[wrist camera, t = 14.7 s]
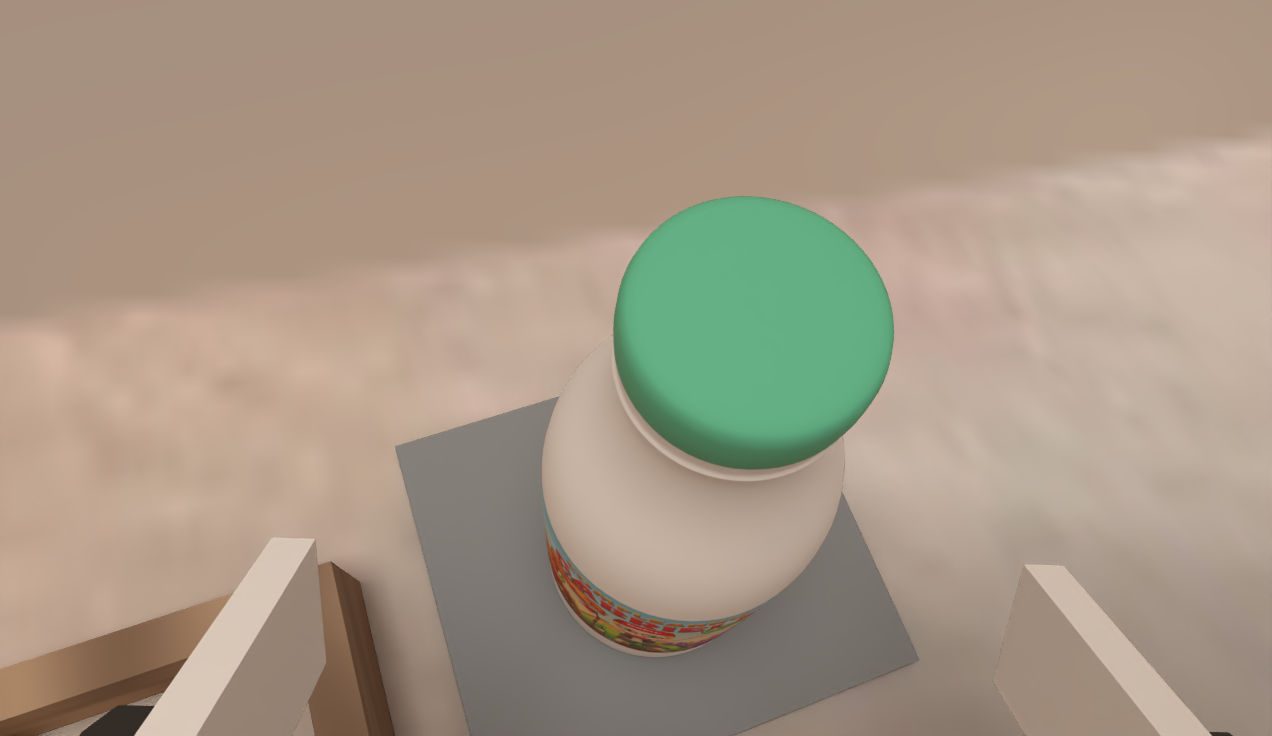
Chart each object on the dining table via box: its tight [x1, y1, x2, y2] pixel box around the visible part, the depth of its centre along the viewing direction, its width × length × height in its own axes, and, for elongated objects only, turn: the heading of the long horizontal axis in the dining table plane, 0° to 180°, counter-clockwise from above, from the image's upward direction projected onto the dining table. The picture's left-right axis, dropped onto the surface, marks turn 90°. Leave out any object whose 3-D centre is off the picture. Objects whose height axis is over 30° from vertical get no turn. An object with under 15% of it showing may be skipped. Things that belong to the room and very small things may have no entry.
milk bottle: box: [542, 196, 894, 657], centre depth 23 cm, size 8×8×20 cm
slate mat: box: [395, 396, 919, 736], centre depth 32 cm, size 16×14×1 cm
